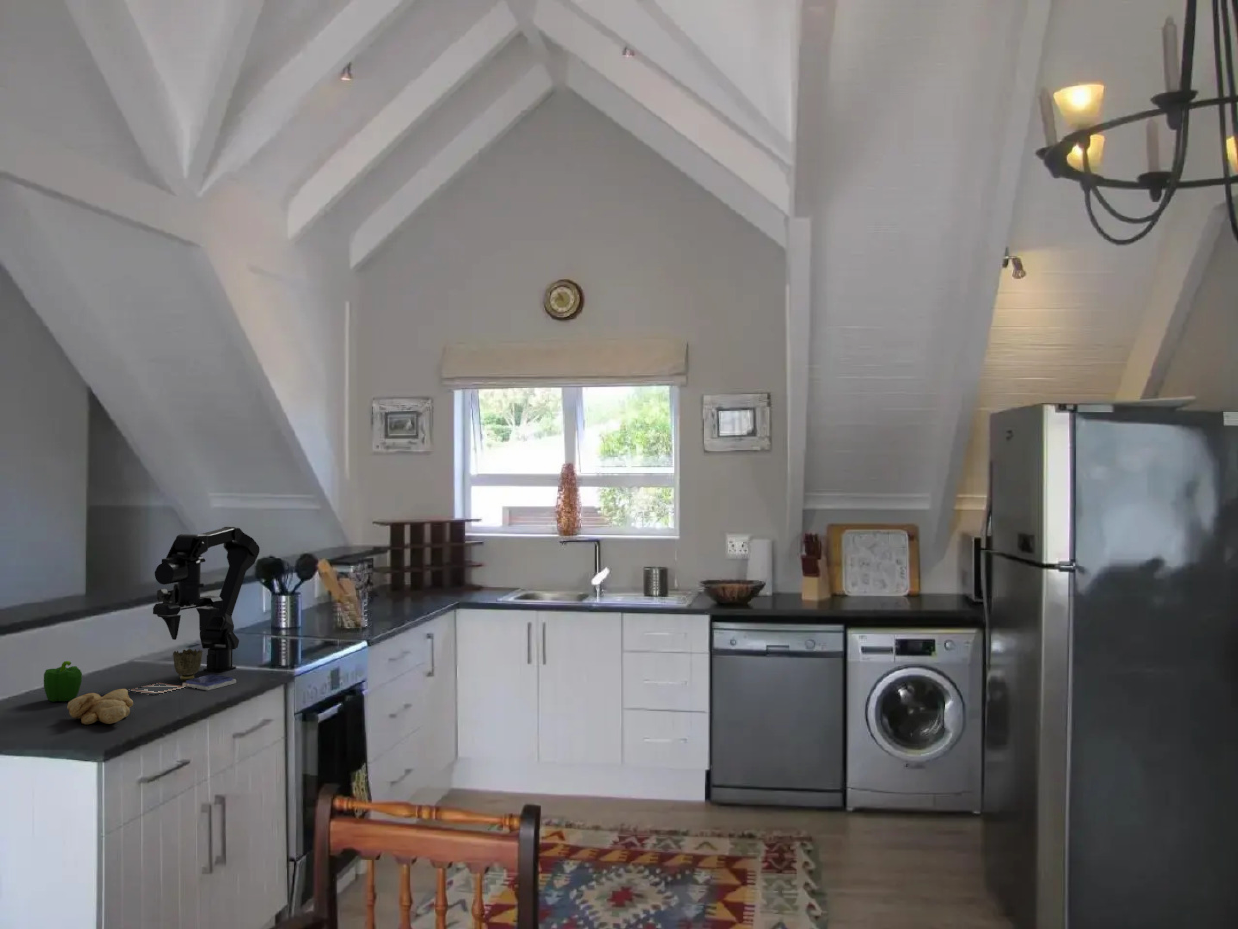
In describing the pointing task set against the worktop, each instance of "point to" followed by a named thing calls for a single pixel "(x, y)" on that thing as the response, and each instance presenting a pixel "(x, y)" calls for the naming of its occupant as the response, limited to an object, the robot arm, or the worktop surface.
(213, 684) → the ink pad
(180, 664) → the ornate bronze cup
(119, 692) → the ginger root
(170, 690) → the marked card
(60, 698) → the bell pepper
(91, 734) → the worktop surface
